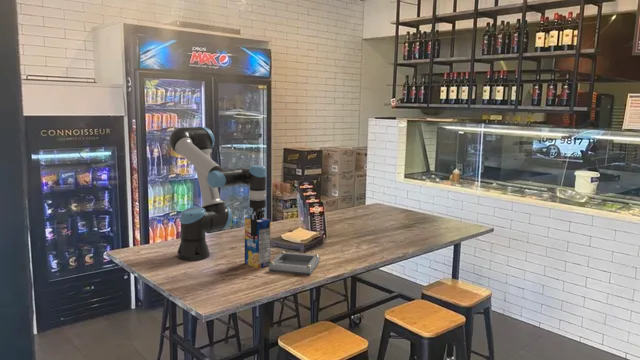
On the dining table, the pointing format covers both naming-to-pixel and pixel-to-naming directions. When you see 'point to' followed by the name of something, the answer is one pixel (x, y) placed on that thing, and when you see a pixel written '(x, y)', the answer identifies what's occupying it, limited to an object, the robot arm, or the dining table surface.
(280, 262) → the socket
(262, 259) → the beverage box
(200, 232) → the robot arm
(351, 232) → the dining table surface
